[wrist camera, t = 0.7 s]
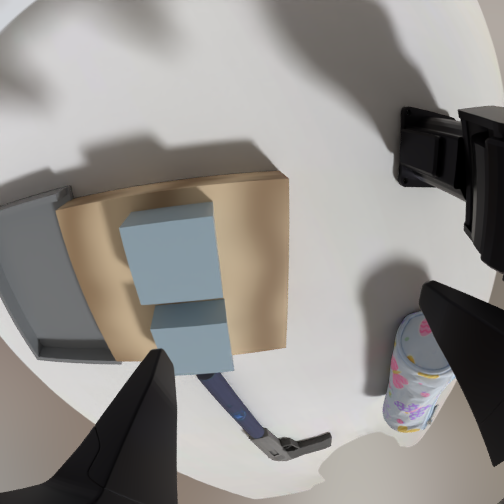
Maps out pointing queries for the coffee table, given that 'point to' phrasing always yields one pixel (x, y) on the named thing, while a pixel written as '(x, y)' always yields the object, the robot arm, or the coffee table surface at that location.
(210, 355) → the tile far
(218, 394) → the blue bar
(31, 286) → the tray
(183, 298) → the tile near
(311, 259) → the coffee table surface
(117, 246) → the oak board
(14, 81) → the coffee table surface
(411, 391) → the pencil case
